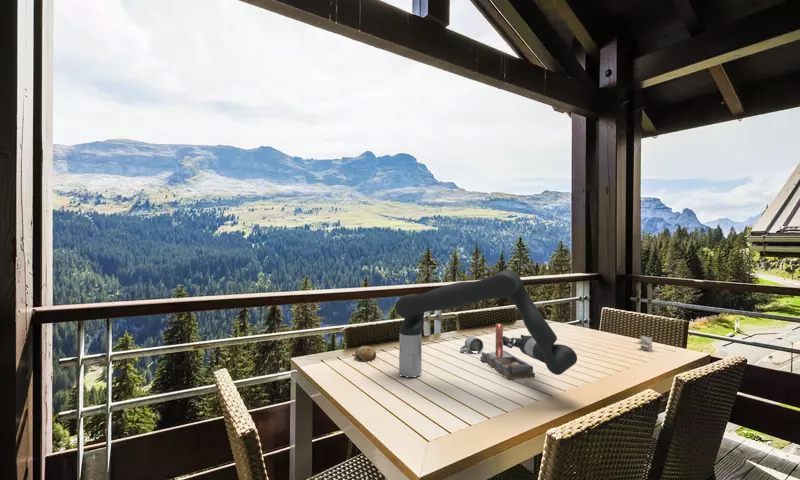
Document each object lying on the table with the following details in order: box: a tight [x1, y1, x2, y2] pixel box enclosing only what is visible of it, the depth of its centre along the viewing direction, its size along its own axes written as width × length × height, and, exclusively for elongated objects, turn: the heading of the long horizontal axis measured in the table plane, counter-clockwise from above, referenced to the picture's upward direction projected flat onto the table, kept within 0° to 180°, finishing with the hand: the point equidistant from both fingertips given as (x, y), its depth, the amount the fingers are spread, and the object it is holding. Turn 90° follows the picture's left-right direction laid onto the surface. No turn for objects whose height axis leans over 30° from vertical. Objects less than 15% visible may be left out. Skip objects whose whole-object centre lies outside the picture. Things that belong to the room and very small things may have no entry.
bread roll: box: [354, 345, 377, 362], centre depth 184 cm, size 10×10×8 cm
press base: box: [480, 350, 536, 380], centre depth 171 cm, size 26×12×5 cm, turn 13°
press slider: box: [486, 323, 512, 363], centre depth 177 cm, size 8×8×16 cm
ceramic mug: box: [459, 335, 484, 354], centre depth 196 cm, size 11×8×8 cm
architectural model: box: [634, 335, 653, 353], centre depth 199 cm, size 3×7×7 cm, turn 27°
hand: (512, 337), depth 166 cm, fingers open, 8 cm apart
